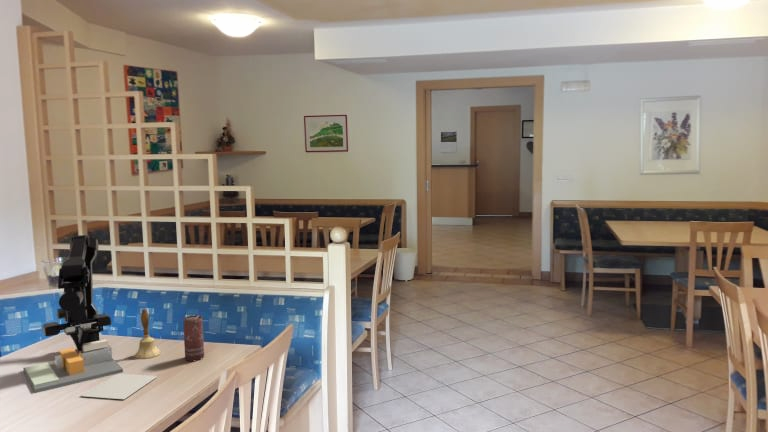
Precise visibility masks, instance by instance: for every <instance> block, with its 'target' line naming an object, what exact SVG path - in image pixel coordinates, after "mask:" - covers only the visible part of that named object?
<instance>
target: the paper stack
mask: <svg viewBox="0 0 768 432" xmlns="http://www.w3.org/2000/svg"><path fill="white" fill-rule="evenodd" d="M156 378H158V375H157V376H156V375H147V374H146V375H144V374H133V373H132V374H128V373H116V374H113V375H111V376H110V377H109V378H107V379H106V380H104V381H103V382H101V383H98V384H97V385H95V386H94V387H93V388H91V389H89V390H88V391H85V392H84V393H82V394H81V395H80V397H88V398H89V397H90V398H100V399H101V398H102V399H115V400H126V399H127V398H128V397H130V396H131V395H133V394H134V393H136V392H137V391H139V390H140V389H142V388H143V387H144V386H146V385H147V384H149V383H150V382H152V381H153V380H155V379H156Z"/></svg>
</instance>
